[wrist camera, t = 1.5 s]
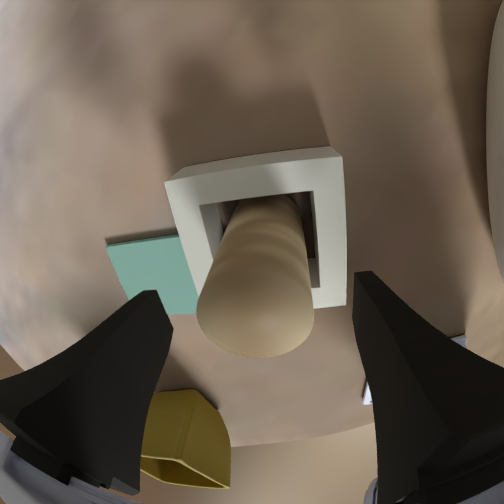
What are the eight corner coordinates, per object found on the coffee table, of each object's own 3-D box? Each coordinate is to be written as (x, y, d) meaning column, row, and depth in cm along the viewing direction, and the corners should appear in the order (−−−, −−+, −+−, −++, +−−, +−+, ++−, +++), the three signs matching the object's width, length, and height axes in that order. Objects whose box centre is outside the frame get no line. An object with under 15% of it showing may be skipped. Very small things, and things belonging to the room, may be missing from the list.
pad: (184, 233, 17) (182, 236, 17) (208, 309, 20) (207, 313, 20) (108, 244, 18) (105, 247, 18) (137, 311, 21) (135, 314, 21)
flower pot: (134, 380, 27) (105, 450, 19) (200, 373, 24) (176, 460, 16) (179, 421, 30) (163, 482, 22) (242, 417, 28) (232, 489, 20)
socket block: (330, 146, 14) (342, 156, 11) (338, 274, 18) (345, 305, 15) (183, 167, 15) (164, 182, 13) (215, 285, 19) (205, 316, 16)
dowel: (297, 185, 15) (311, 264, 8) (304, 250, 17) (315, 353, 10) (225, 194, 16) (181, 275, 9) (239, 256, 18) (212, 358, 11)
